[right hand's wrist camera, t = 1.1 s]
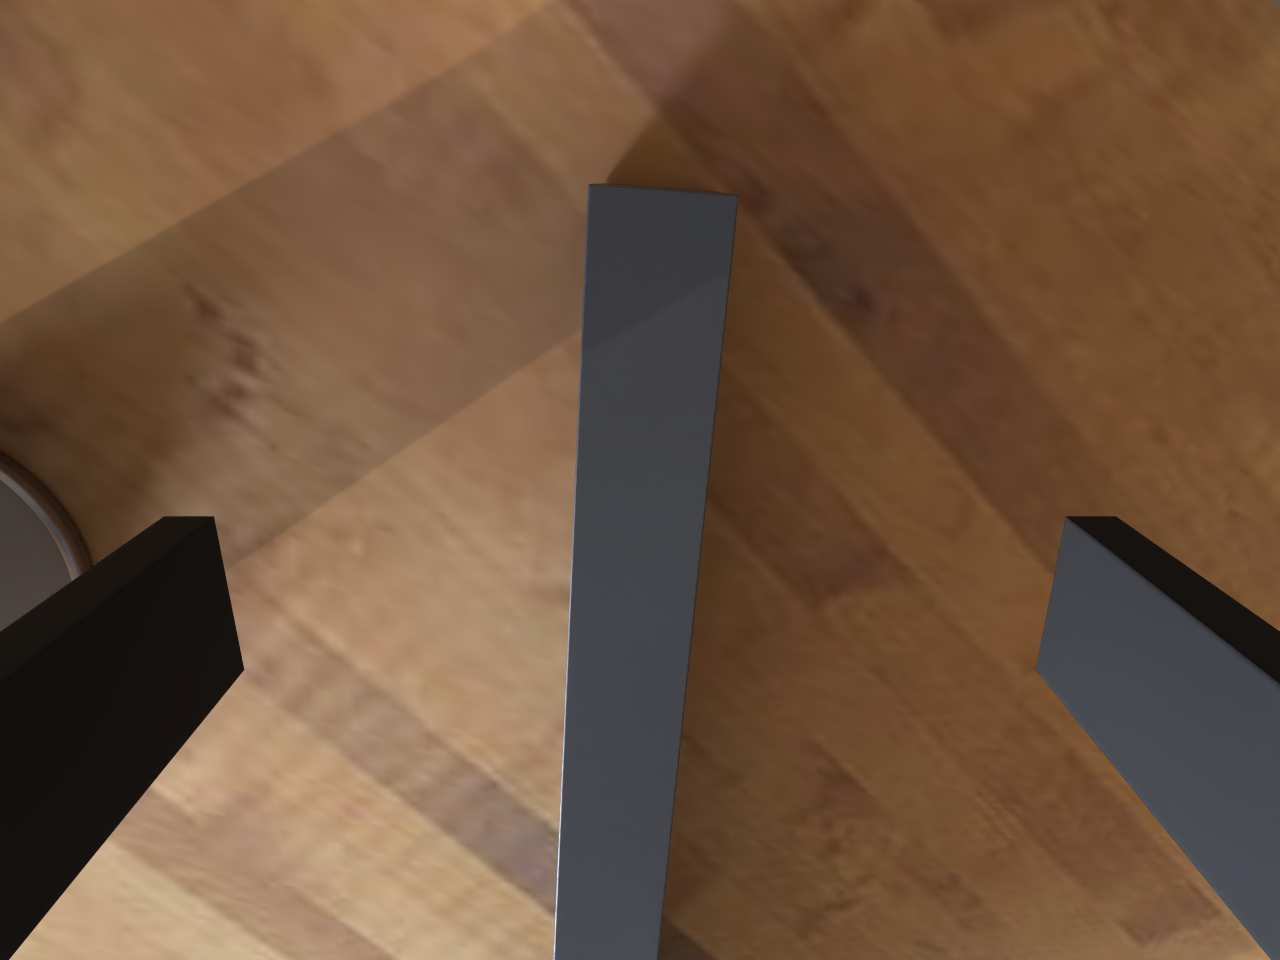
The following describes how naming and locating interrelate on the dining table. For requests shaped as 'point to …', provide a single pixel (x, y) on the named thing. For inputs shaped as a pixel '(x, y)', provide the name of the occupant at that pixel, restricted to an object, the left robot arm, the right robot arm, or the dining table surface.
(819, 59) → the dining table surface
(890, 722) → the dining table surface
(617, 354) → the beam
